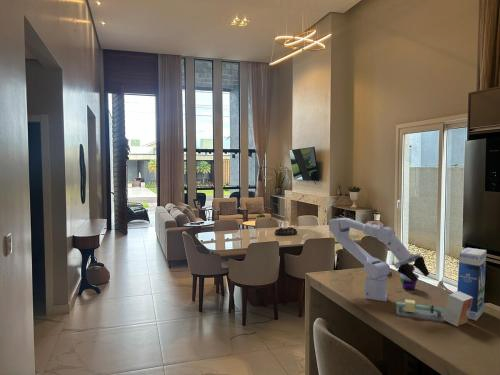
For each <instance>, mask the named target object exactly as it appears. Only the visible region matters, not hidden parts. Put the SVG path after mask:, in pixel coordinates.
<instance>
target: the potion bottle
mask: <svg viewBox="0 0 500 375" xmlns="http://www.w3.org/2000/svg"><path fill="white" fill-rule="evenodd" d="M409 266H410V268H411V270H412V272H413V273H414V271H415V270H416V269H415V268H416V267H415V266H413V264H412V263H409ZM414 274H415V276H416V277H417V280H416V281H415V282H413V281H412V280H411V279H409V278H408V277H407V276H405V275H403V274H401V273H399V275H400V276H399V277H400V282H401V284H402V289H404V290H407V291H415V290H416V285H417V283H418V281H419V277H420V274H417V273H414ZM414 289H415V290H414Z"/></svg>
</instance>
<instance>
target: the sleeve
mask: <svg viewBox="0 0 500 375" xmlns="http://www.w3.org/2000/svg"><path fill="white" fill-rule="evenodd" d="M404 303H405V311H407V312H414V313H415V305H416V300H413V299H405V298H404Z"/></svg>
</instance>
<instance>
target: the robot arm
mask: <svg viewBox="0 0 500 375" xmlns="http://www.w3.org/2000/svg"><path fill="white" fill-rule="evenodd" d="M351 229H354V230H357V231H358V230H359V231H363V233H364V235H367V236H369V237H372V238H376V239H377V240H378V241H380V242H381V243H383V244H384V245H385V246H386V247H387V248H388V249H389V251H390V252H391V253H392V254H393V256H394V257H395V258H396V259H397V261H396V262H395V264H394V265H393V267H395V269H396V270H397V272H398V274H400V273H401V274H403V275H405V276H407V277H408V278H409V279H411V280H412V281H413V282H415V281H416V280H417V277H416V276H415V274H416V273H415V274H414V271H413V272H412V270H411V268H410V266H409V264H412V263H413V262H414V263H413V264H412V265H413V267H415V268H417V270H419V272H420V273H422V275H423V276H425V277H427V276H429V275H430V272H429V269H428V268H427V266H426V265H427V264H426V263H425V258H424V257H423V256H422V255H421V254H420V253H416V254H414V253H411V252H410V251H409V250H408V249H407V247H406V246H405V245H404V244H403V243H402V242H401V240H400V239H399V238H398V237H397V236H396V231H395V230H394V229H393V227H390V226H385V227H384V225H383V224H380V225H379V224H375V222H373V221H370V222H367V223H363V222H360V221H358V220H355V219H352V218H349V217H341V218H339V217H337V218H331V219H330V220H329V222H328V231H329V232H330V233H332V234H333V236H334V238H335V239H336V242H337V243H338V244H340V245H341V247H343V248H344V249H345V250H346V251H348V253H350V254H351V255H352V257H354V258H355V259H357V260H358V261H359V262H360V264H362V265H363V271H365V272H366V274H367V275H368V276H365V278H364V288H363V293H364V296H363V297H364V299H367V300H374V301H375V300H376V301H382V302H387V301H388V294H387V283H388V282H387V281H388V276H389V274H390V273H391V267H390V265H389V264H388V263H387V262H386V261H382V260H380V259H379V258H377V257H374V256H372V255H371V254H370V253H369V252H368V251H366V250H365V249H364V248H363V247H362V246H360V245H359V244H358V243H356V241H354V240H353V239H352V238H351V237H349V235H350V230H351Z"/></svg>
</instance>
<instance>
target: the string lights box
mask: <svg viewBox="0 0 500 375" xmlns="http://www.w3.org/2000/svg"><path fill="white" fill-rule="evenodd" d="M486 265H487V249H481V248H480V249H479V248H472V247H466V248H465V249H464V248H463V250H461V251H459V256H458V273H457V291H456V292H458V291H460V292H462V293H465V294H467V295H469V296H471V297H473V301H472V305H471V309H470V313H469V317H468V320H473V321H478V319H479V318H480V317H481V315H483V313H484V306H485V304H484V303H485V285H486V268H487V266H486Z"/></svg>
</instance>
